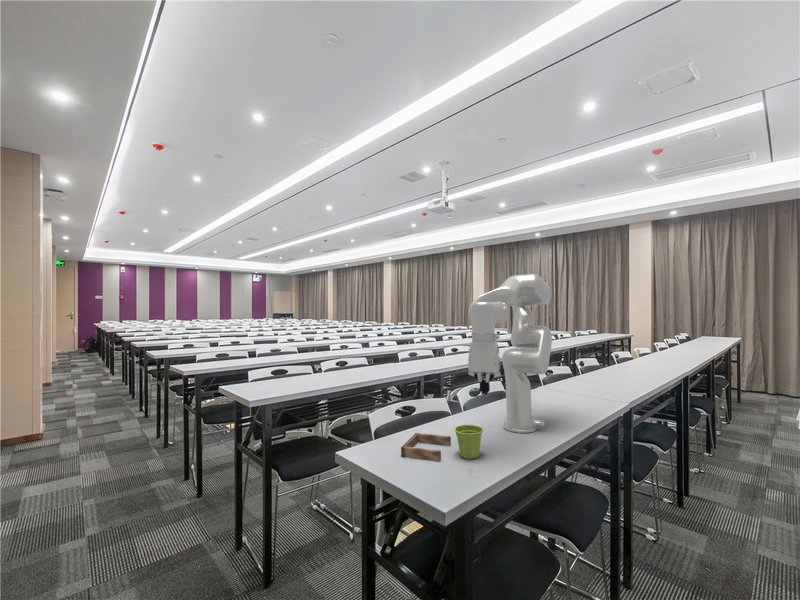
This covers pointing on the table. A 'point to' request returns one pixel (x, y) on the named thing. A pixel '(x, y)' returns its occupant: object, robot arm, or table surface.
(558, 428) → the table surface
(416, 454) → the dock
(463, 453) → the plant pot
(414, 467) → the table surface
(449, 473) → the table surface
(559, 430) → the table surface
